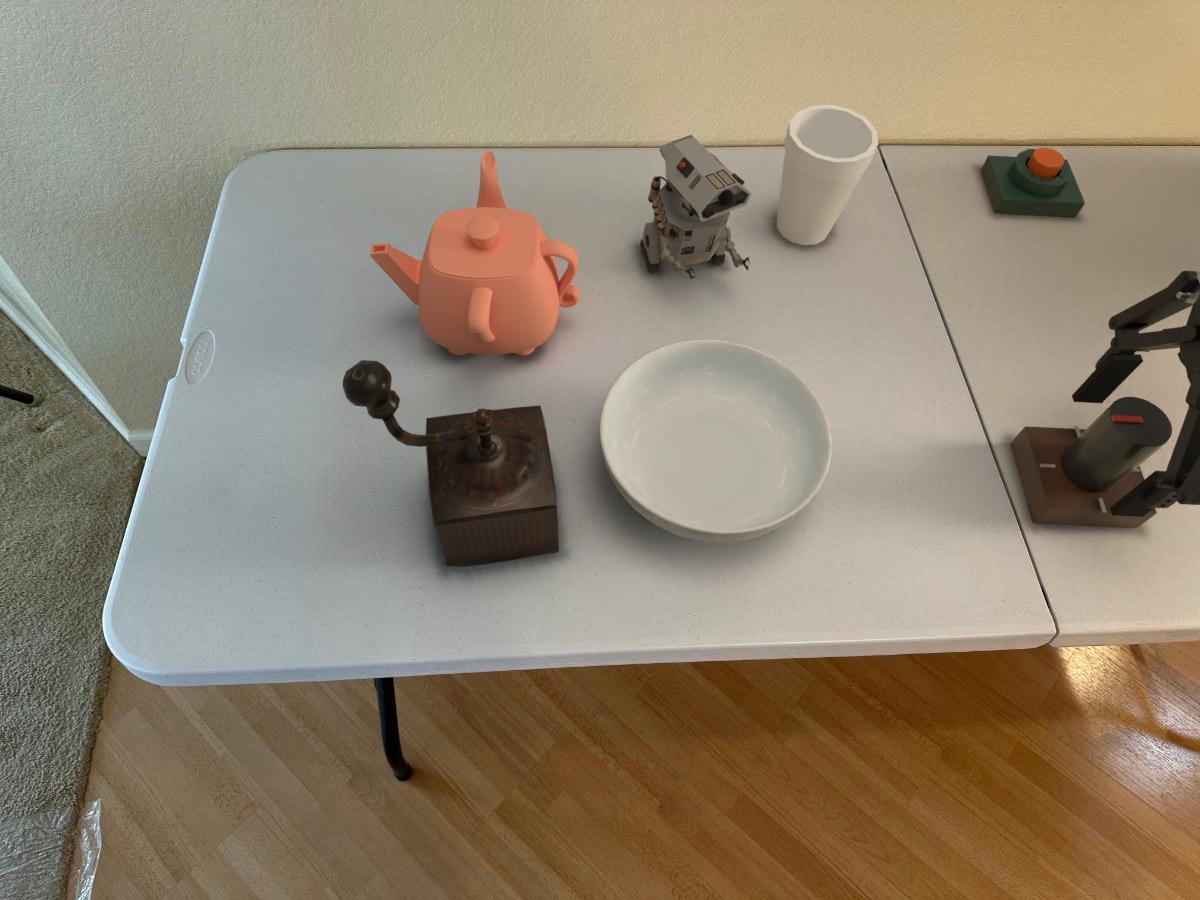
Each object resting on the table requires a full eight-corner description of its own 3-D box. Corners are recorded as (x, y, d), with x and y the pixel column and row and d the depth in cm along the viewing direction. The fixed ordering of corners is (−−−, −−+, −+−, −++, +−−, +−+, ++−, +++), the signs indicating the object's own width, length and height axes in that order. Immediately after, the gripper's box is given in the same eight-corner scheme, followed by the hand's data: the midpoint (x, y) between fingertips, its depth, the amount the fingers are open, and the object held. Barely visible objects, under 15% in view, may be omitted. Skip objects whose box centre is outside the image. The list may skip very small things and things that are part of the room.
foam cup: (747, 224, 96) (771, 130, 85) (794, 188, 100) (823, 93, 89) (811, 267, 93) (844, 175, 82) (857, 228, 96) (895, 135, 85)
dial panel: (1108, 445, 81) (1127, 428, 79) (1138, 529, 76) (1159, 514, 74) (1010, 440, 81) (1025, 423, 78) (1033, 525, 76) (1050, 509, 73)
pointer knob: (1108, 446, 78) (1162, 395, 70) (1125, 493, 75) (1183, 446, 68) (1054, 443, 77) (1104, 393, 70) (1069, 491, 75) (1122, 443, 68)
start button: (1052, 160, 99) (1059, 148, 97) (1060, 180, 97) (1068, 168, 95) (1023, 158, 99) (1030, 146, 97) (1030, 178, 97) (1037, 166, 95)
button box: (1058, 173, 103) (1075, 147, 100) (1075, 217, 99) (1093, 191, 95) (980, 169, 103) (994, 142, 99) (994, 213, 99) (1009, 186, 95)
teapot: (384, 323, 86) (357, 226, 75) (496, 240, 93) (486, 140, 82) (492, 406, 81) (481, 316, 70) (601, 312, 88) (607, 216, 77)
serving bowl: (690, 347, 86) (699, 303, 80) (854, 466, 79) (877, 427, 73) (551, 467, 77) (550, 428, 72) (721, 612, 70) (735, 582, 65)
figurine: (661, 313, 88) (677, 206, 76) (636, 239, 94) (647, 128, 81) (740, 302, 90) (769, 194, 77) (711, 229, 95) (734, 118, 83)
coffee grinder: (544, 450, 78) (540, 330, 63) (561, 554, 73) (561, 449, 58) (382, 471, 77) (337, 352, 61) (386, 579, 71) (337, 478, 56)
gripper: (1173, 169, 61) (1032, 349, 80) (1307, 430, 49) (1103, 572, 68) (1270, 174, 62) (1107, 353, 80) (1428, 436, 49) (1191, 576, 68)
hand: (1105, 453), depth 74 cm, fingers open, 11 cm apart
